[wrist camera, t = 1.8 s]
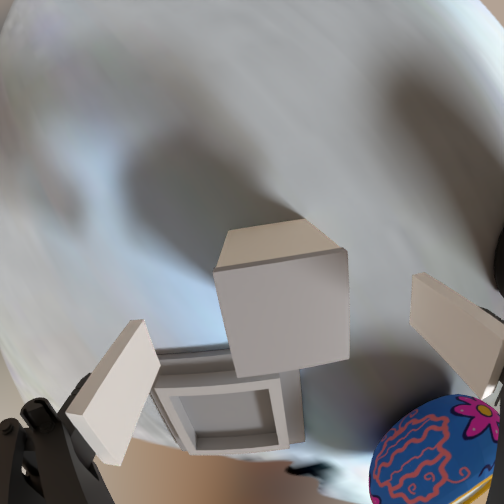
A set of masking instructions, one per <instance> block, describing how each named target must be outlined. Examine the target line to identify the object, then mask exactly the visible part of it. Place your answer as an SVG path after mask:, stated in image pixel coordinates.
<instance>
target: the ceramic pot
mask: <svg viewBox="0 0 504 504" xmlns="http://www.w3.org/2000/svg"><path fill="white" fill-rule="evenodd" d="M499 422H500V415H499V413H498V412H497V411H496V410H495V409H494V408H493V407H491V406H490V405H488V404H487V403H485V402H483V401H481V400H479V399H477V398H474V397H471V396H467V395H461V394H455V395H446V396H442V397H440V398H437V399H434V400H431V401H429V402H427V403H425V404H423V405H422V406H420V407H418V408H416V409H414V410H413V411H411V412H410V413H409V414H407V415H406V416H404V417H403V418H402V419H401V420H399V421H398V422H397V423H396V424H395V425H394V426H393V427H392V428H391V429H390V430H389V431H388V432H387V433H386V434H385V435H384V436H383V438H382V439H381V441H380V443H379V444H378V446H377V447H376V449H375V451H374V454H373V457H372V461H371V465H370V470H369V493H370V498H371V500H372V503H373V504H470V503H472V502H473V501H474V500H475V499H477V498H478V497H479V496H480V495H482V494H483V493H484V492H485V491H487V490H488V489H489V488H490V485H491V480H492V475H493V470H494V465H495V458H496V451H497V444H498V434H499Z"/></svg>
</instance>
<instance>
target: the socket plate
mask: <svg viewBox="0 0 504 504" xmlns="http://www.w3.org/2000/svg"><path fill="white" fill-rule="evenodd" d="M157 357H158V360H159V362H160V365H161V366H160V368H159V371H158V373H157V375H156V378H155V380H154V382H153V385H152V387H151V390H150V393H151V395H152V397H153V399H154V401H155V403H156V405H157V407H158V409H159V411H160V413H161V415H162V416H163V418H164V420H165V422H166V424H167V426H168V427H169V429H170V431H171V433H172V434H173V436H174V438H175V440H176V441H177V443H178V445H179V446H180V448H181V450H182V451H188V453H189V454H190V455H228V454H245V453H256V452H266V451H275V450H282V449H289V448H290V446H289V444H294V443H300V442H305V433H304V419H303V407H302V394H301V383H300V372H299V369H297V370H292V371H286V372H279V373H273V374H266V375H258V376H251V377H242V378H237V374H236V371H235V367H234V363H233V359H232V355H231V351H230V349H223V350H214V351H204V352H193V353H180V354H165V355H157Z"/></svg>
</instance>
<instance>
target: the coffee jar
mask: <svg viewBox="0 0 504 504" xmlns="http://www.w3.org/2000/svg"><path fill="white" fill-rule="evenodd" d="M494 273H495V280H496V283H497V286H498V289H499V292H500V294H501V295H502V296H503V297H504V229H503V231H502V233H501V236H500V238H499V242H498V245H497V249H496V254H495V262H494Z"/></svg>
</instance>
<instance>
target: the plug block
mask: <svg viewBox="0 0 504 504" xmlns="http://www.w3.org/2000/svg"><path fill="white" fill-rule="evenodd" d="M213 277H214V282H215V287H216V291H217V296H218V300H219V304H220V309H221V313H222V317H223V322H224V326H225V330H226V334H227V339H228V343H229V347H230V351H231V355H232V359H233V363H234V367H235V371H236V374H237V378H242V377H251V376H258V375H266V374H273V373H279V372H286V371H292V370H297V369H303V368H308V367H314V366H319V365H324V364H328V363H333V362H337V361H342V360H346V359H349V351H350V301H349V272H348V254H347V250H345V249H344V248H343V247H342V248H341V247H339V246H338V245H337V244H336V243H335V242H333V241H332V240H331V239H330V238H328V237H327V236H326V235H325V234H324V233H322V232H321V231H320V230H319V229H317V228H316V227H315V226H314V225H312V224H311V223H310V222H309V221H307V220H306V219H298V220H291V221H285V222H278V223H272V224H265V225H259V226H253V227H246V228H240V229H234V230H228V233H227V236H226V239H225V242H224V245H223V248H222V251H221V254H220V257H219V260H218V263H217V266H216V268H214V270H213Z"/></svg>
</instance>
